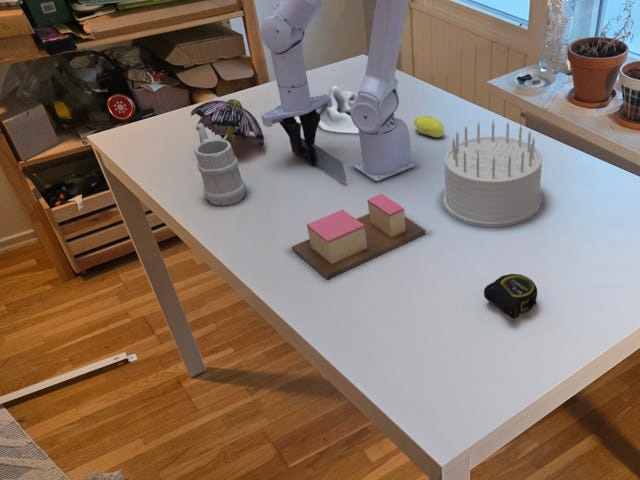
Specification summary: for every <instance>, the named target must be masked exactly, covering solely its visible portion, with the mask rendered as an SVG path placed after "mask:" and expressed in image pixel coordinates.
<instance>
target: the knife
mask: <svg viewBox="0 0 640 480" xmlns="http://www.w3.org/2000/svg"><path fill="white" fill-rule="evenodd" d="M288 138H289V137H288ZM288 140H289V144H290V148H291V152H292V153H293V154H295V155H296V156H298V157H299V158H301V159H303V160H304V161H305V162H307V163H309V164H310V165H314V164H316V165H318V166H319V167H321V168H322V169H323V170H325V171H327V172H328V173H330V174H332V175H333V176H335V177H336V178H338V179H340V180H341V181H343V182H347V178H346V171H345V165H344V161H343V160H341V159H340V158H338V157H337V156H335V155H333V154H332V153H330V152H328V151H327V150H325V149H323V148H321V147H320V146H318V145H316V143H315V144H311V143H309V142H308V141H306V140H305V139H304V137H301V141H302V146H303V154H299V153H297V152H296V151H295V148H294V146H293V144H292V142H291V140H290V138H289V139H288Z"/></svg>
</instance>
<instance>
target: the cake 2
mask: <svg viewBox="0 0 640 480" xmlns="http://www.w3.org/2000/svg"><path fill="white" fill-rule="evenodd" d="M476 126H477V127H476V130H477V132H476V137H473V138H468V127H464V140H463V141H460V140H459V131H458V130H457V131H456V133H455V137H453V138H452V146H451V147H450V148H449V149H448V150H447V151H446V153H445V155H444V185H445V186H444V193H443V198H442V201H443V207H444V210H445V211H446V213H448V215H449V216H451V217H452V218H454V219H455V220H457V221H459V222H461V223H464V224H466V225H470V226H474V227H479V228H480V227H481V228H506V227H510V226H515V225H518V224H522V223H524V222H527V221H529V220H530V219H531V218H533V217H534V216H536V214H537V213H538V212H539V210H540V209H541V206H542V195H541V192H540V191H541V190H540V189H541V178H542V167H543V166H542V165H543V157H542V154H541V151H540V150H539V149H538V148H537V147H536V146H535V143H536V140H535V137H534V136H533V138H532V133H531V130H529V132H528V135H527V142H526V141H524V140H522V135H523V134H522V133H523V128H522V125H520V126H519V128H518V129H519V130H518V138H514V137H509V136H510V134H509V133H510V124H509V121H507V123H506V130H505V132H506V133H505V136H499V135H495V120H492V122H491V135H490V136H481V134H480V133H481V125H480V121H478V122H477V125H476ZM531 139H532V141H531ZM459 141H460V142H459Z"/></svg>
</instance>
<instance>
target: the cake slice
mask: <svg viewBox="0 0 640 480" xmlns="http://www.w3.org/2000/svg"><path fill="white" fill-rule="evenodd" d="M367 207H368V214H369V216H370V222H371V223H372V224H374V225H375V226H376V227H378V228H379V229H381V230H382V231H383V232H385V233H386V234H388V235H389V236H390V237H394V236H396V235H398V234H401V233H403V232H405V231H406V228H405V217H406V216H405V208H404V206H401V205H400V204H398V203H397V202H395V201H394V200H393V199H391V198H389V197H388V196H386V195H385V194H383V193H380V194H377V195H375V196H371V197H370V198H367Z"/></svg>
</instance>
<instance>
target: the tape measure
mask: <svg viewBox="0 0 640 480" xmlns="http://www.w3.org/2000/svg"><path fill="white" fill-rule="evenodd" d="M483 296H484V298H485V300H486V301H487V302H489V303H490V304H492V305H493V306H495V308H497V309H499V310H500V311H501V312H502V313H504V314H505V316H507V317H508V318H509V319H511V320H516V319H517V318H518V317H520V315H523V314H526V313H528V312H530V311H531V310H532V309H533V308H534V307H535V306H536V304H537V298H538V287H537V285H536V283H535V282H534V281H533V280H532V279H531V278H529V277H528V276H525V275H523V274H519V273H518V274H517V273H509V274H503V275H501V276H500V277H498V278H497V279H495V280H494V281H493V282H492V283H490V284H487V285H486V286H485V288H484V289H483Z"/></svg>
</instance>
